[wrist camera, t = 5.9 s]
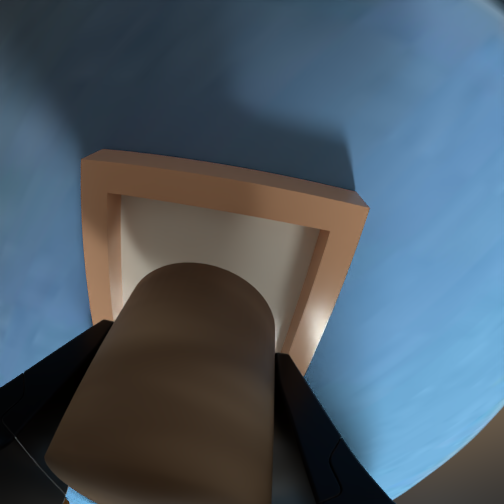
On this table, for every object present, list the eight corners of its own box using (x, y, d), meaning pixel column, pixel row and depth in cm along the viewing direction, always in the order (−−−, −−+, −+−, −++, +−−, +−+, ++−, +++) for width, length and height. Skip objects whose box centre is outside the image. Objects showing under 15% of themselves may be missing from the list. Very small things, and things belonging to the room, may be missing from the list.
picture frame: (356, 191, 11) (369, 208, 9) (298, 356, 14) (301, 382, 13) (102, 148, 10) (81, 159, 9) (108, 321, 14) (96, 344, 13)
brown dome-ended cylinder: (291, 278, 9) (302, 491, 4) (259, 385, 11) (249, 539, 6) (125, 248, 9) (9, 415, 4) (133, 360, 11) (78, 499, 6)
